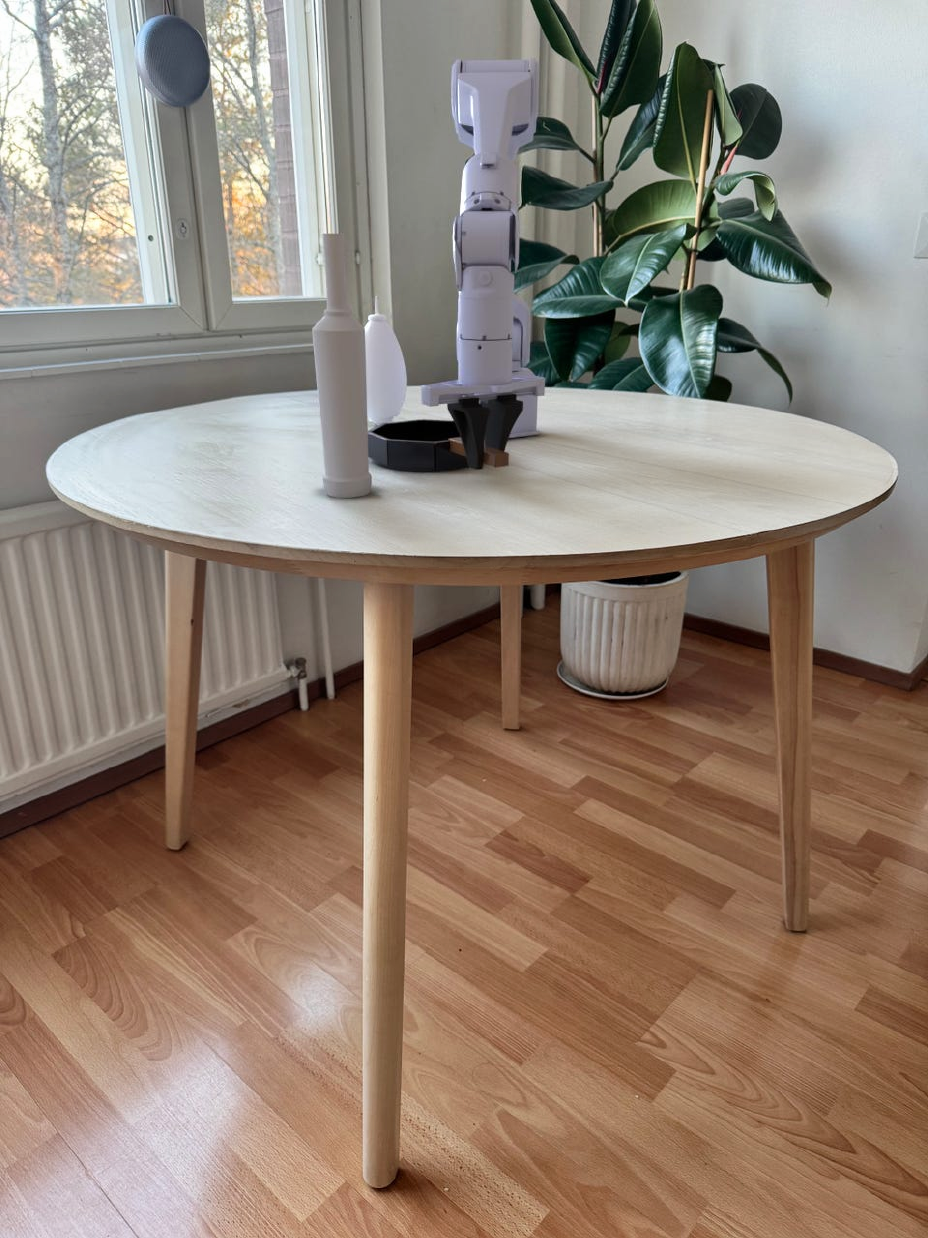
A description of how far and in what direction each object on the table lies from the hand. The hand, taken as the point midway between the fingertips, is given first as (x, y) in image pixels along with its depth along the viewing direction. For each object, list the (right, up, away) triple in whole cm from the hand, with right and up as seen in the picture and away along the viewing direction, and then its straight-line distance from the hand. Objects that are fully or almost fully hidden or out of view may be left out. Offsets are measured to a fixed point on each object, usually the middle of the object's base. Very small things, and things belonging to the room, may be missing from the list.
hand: (484, 466), depth 92 cm
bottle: (-15, -4, -4) cm, 15 cm away
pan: (-4, +1, +7) cm, 8 cm away
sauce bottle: (-14, +12, +32) cm, 37 cm away
